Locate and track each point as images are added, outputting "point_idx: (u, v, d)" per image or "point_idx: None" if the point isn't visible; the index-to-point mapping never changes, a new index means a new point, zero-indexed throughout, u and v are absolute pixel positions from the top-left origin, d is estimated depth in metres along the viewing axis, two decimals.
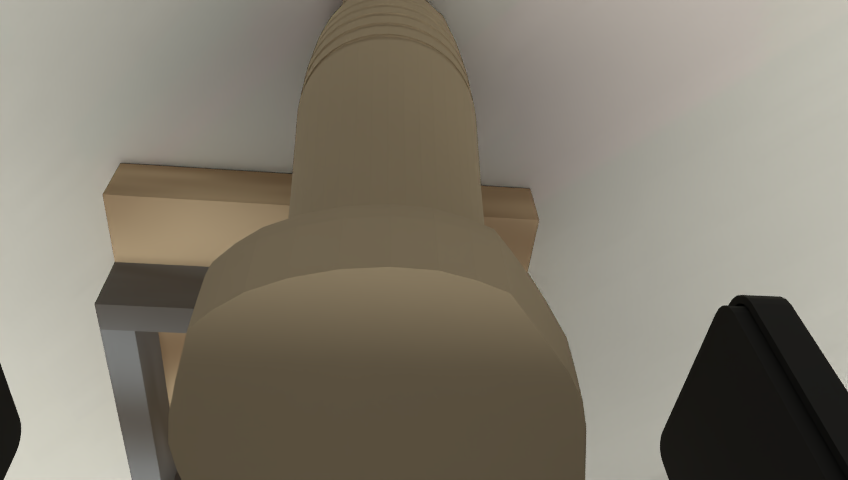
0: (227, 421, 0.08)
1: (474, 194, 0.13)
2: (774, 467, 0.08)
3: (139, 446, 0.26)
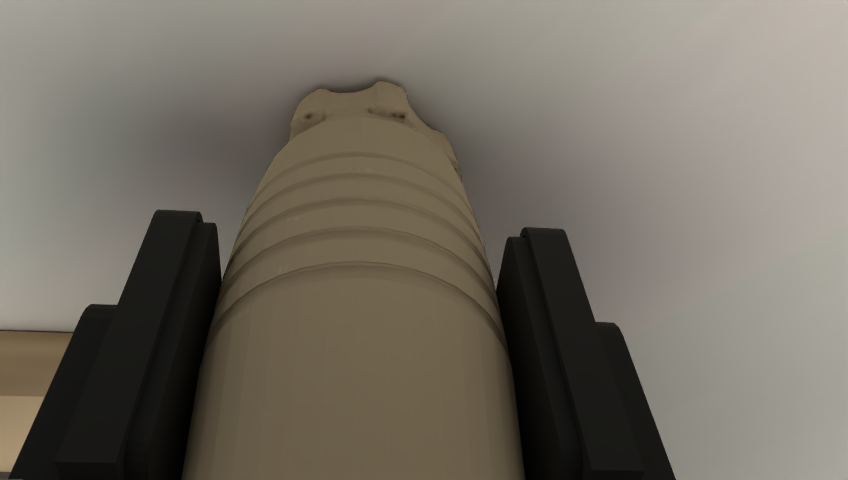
0: None
1: None
2: (524, 376, 0.09)
3: None
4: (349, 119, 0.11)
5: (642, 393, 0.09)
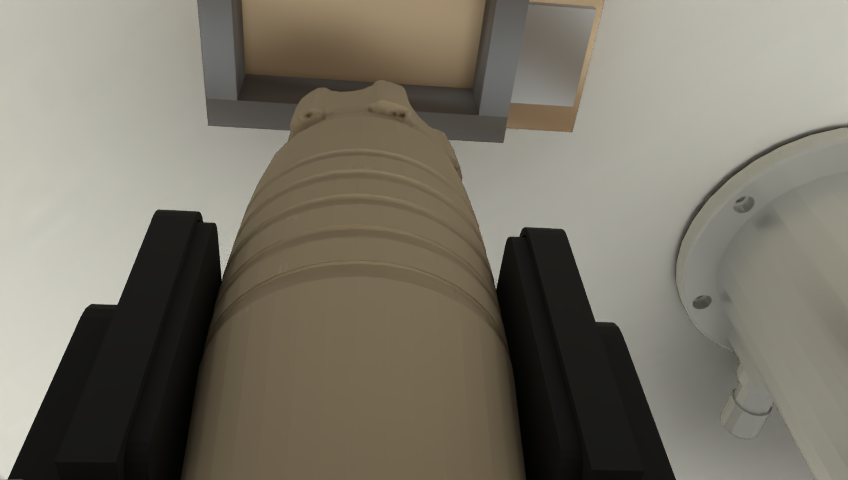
0: None
1: None
2: (524, 376, 0.09)
3: None
4: (349, 118, 0.11)
5: (643, 393, 0.09)
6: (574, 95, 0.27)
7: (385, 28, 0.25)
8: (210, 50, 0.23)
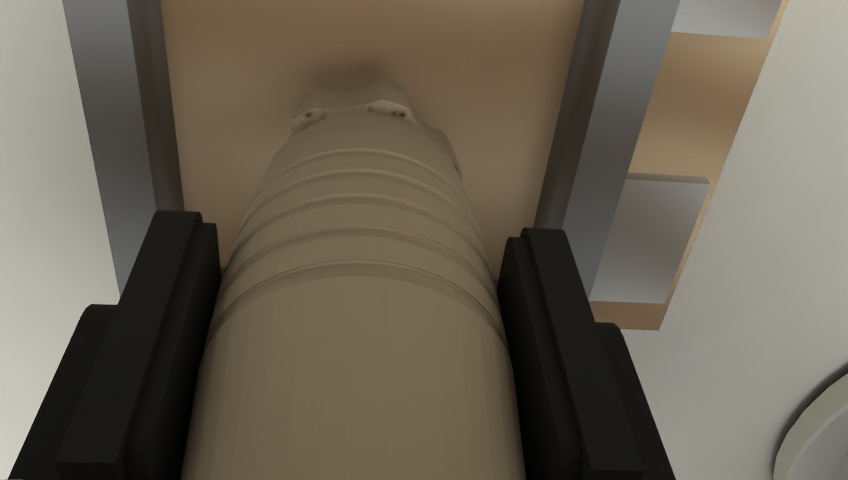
0: None
1: None
2: (524, 376, 0.09)
3: (124, 183, 0.14)
4: (349, 118, 0.11)
5: (643, 393, 0.09)
6: (667, 290, 0.19)
7: None
8: (127, 263, 0.15)
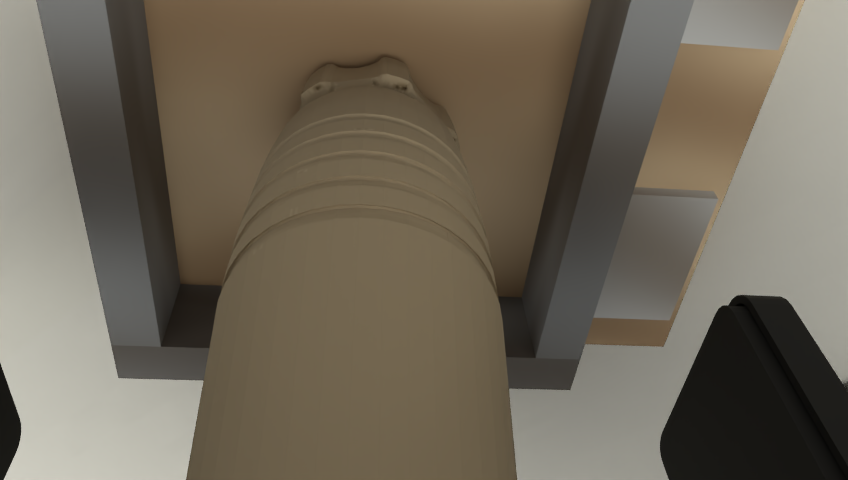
0: None
1: None
2: (774, 467, 0.08)
3: (108, 202, 0.13)
4: (355, 89, 0.12)
5: None
6: (673, 306, 0.18)
7: None
8: (113, 285, 0.15)
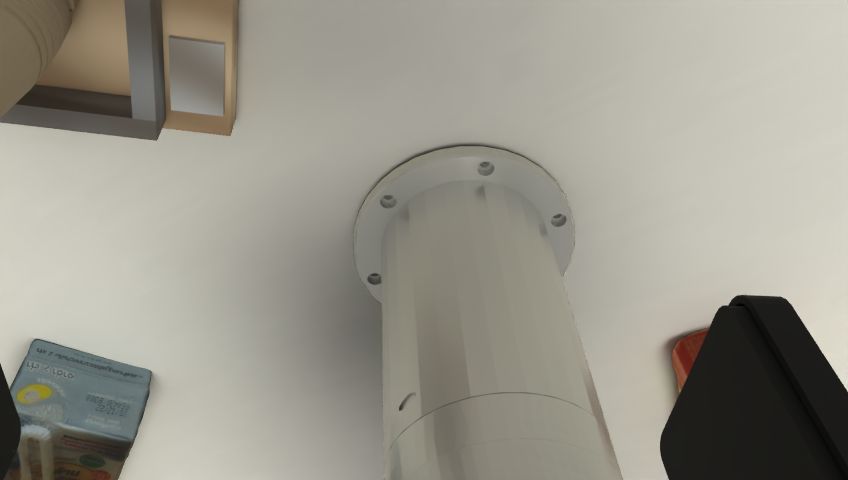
0: None
1: None
2: (774, 467, 0.08)
3: None
4: None
5: None
6: (222, 108, 0.35)
7: (65, 48, 0.33)
8: None
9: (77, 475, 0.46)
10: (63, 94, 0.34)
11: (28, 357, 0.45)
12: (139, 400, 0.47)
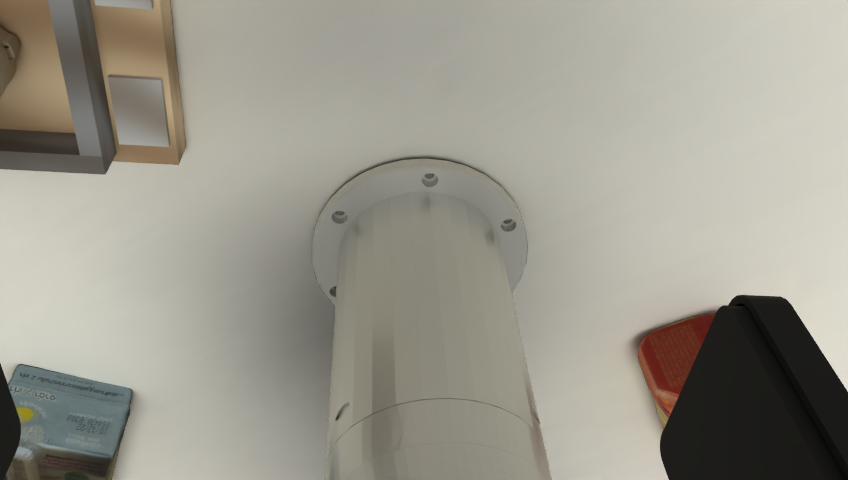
0: None
1: None
2: (774, 467, 0.08)
3: None
4: None
5: None
6: (167, 139, 0.37)
7: (14, 93, 0.36)
8: None
9: None
10: (16, 136, 0.36)
11: (11, 382, 0.48)
12: (119, 418, 0.49)
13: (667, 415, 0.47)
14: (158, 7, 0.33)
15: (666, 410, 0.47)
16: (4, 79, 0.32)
